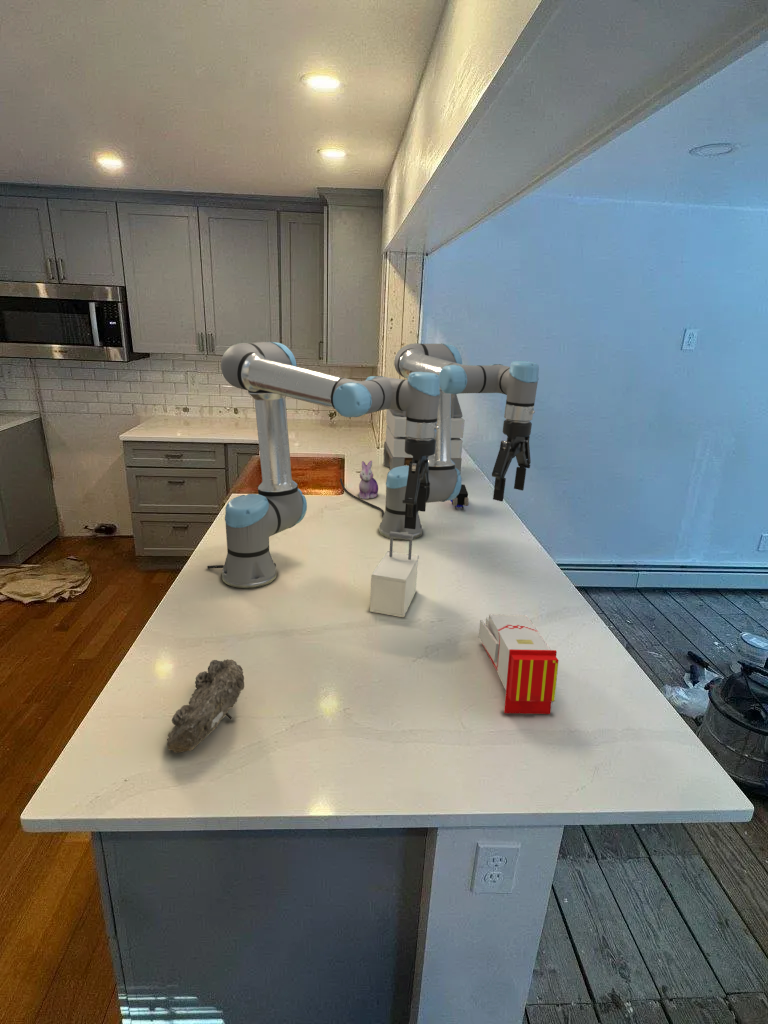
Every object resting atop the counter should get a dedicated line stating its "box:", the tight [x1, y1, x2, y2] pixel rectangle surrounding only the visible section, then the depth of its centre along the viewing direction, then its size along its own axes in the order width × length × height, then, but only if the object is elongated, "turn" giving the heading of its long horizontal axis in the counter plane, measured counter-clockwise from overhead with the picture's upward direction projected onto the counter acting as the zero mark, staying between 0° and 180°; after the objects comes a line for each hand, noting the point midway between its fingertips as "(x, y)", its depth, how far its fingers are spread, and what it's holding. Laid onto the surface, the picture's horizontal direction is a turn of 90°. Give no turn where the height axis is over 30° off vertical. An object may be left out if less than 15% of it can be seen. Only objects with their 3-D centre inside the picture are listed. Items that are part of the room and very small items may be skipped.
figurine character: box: [449, 483, 470, 511], centre depth 230 cm, size 7×8×15 cm
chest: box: [369, 559, 419, 618], centre depth 152 cm, size 15×9×10 cm, turn 165°
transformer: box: [383, 394, 465, 475], centre depth 268 cm, size 34×33×41 cm
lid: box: [370, 531, 420, 583], centre depth 150 cm, size 16×9×8 cm, turn 165°
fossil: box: [166, 658, 245, 754], centre depth 106 cm, size 22×10×15 cm
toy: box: [477, 613, 560, 715], centre depth 124 cm, size 12×13×30 cm
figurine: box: [358, 460, 379, 500], centre depth 236 cm, size 9×10×15 cm
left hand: (415, 519), depth 145 cm, fingers open, 13 cm apart
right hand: (508, 494), depth 161 cm, fingers open, 13 cm apart
